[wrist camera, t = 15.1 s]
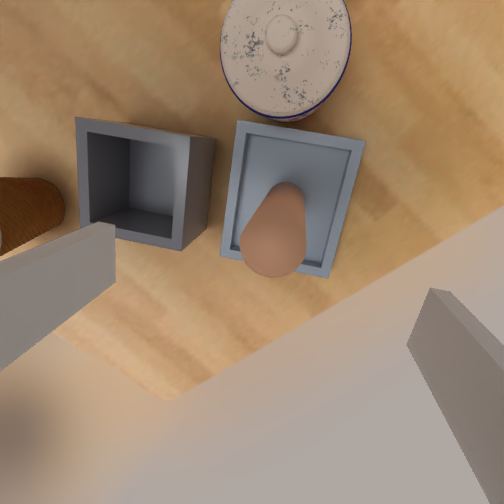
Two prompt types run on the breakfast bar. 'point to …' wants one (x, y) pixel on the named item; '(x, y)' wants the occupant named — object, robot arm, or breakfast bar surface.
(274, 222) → the dowel
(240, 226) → the tray
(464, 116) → the breakfast bar surface
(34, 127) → the breakfast bar surface
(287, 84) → the teacup with lid
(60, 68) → the breakfast bar surface
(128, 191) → the open square box
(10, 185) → the disposable coffee cup
